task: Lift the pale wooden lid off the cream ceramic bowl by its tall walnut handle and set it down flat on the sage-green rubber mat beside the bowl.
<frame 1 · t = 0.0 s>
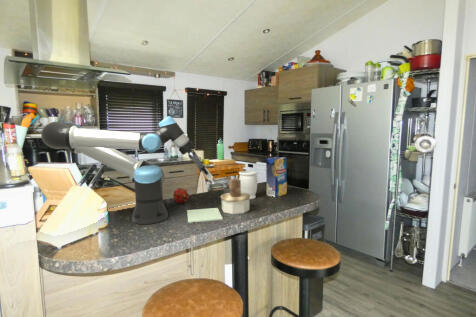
hand: (209, 176, 140), 15 cm above the counter, tool tilted 35°, fingers open, 13 cm apart
lid: (235, 197, 133), point 6 cm above the counter, touching bowl
mat: (203, 215, 126), on the counter
jar: (248, 197, 157), on the counter
blue food box: (276, 194, 162), on the counter
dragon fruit: (181, 202, 149), on the counter
bowl: (235, 209, 134), on the counter
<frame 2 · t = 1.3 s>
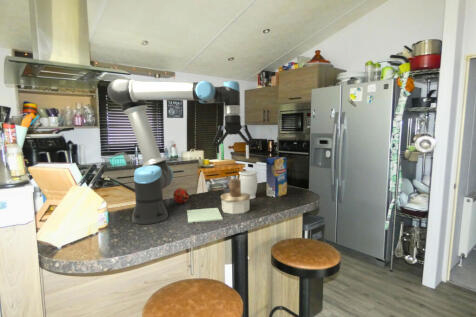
hand: (233, 159, 131), 25 cm above the counter, tool pointing down, fingers open, 13 cm apart
nothing on the counter moved.
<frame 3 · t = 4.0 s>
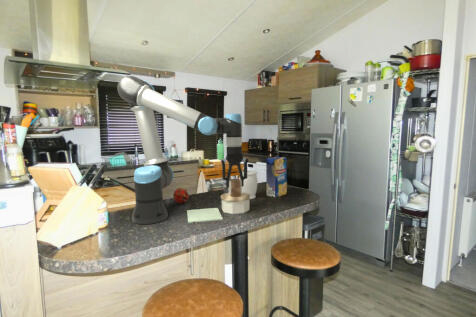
hand: (235, 193, 133), 8 cm above the counter, tool pointing down, fingers closed on lid, 5 cm apart
lid: (235, 197, 133), point 6 cm above the counter, touching bowl, gripper
everything else where it was.
when the fingers open (4 cm above the counter, at t = 9.7 s): lid drops 1 cm, resting on mat.
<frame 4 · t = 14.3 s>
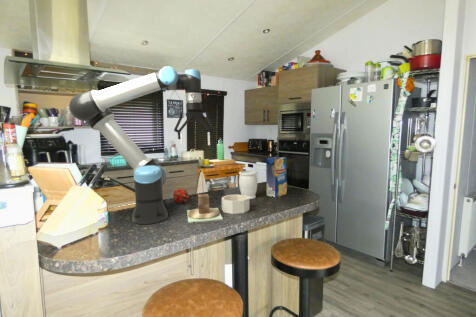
hand: (195, 145, 135), 32 cm above the counter, tool pointing down, fingers open, 13 cm apart
lid: (203, 214, 125), point 1 cm above the counter, touching mat
everything else where it was.
at the end: lid inside the target area on the mat (0.1 cm from its centre), point 0.6 cm above the mat's base; lid tilted 0°; the gripper is holding nothing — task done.
